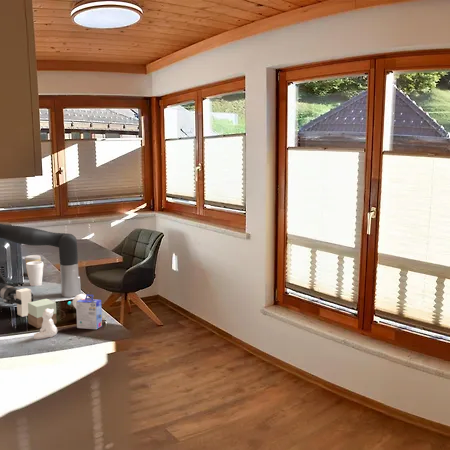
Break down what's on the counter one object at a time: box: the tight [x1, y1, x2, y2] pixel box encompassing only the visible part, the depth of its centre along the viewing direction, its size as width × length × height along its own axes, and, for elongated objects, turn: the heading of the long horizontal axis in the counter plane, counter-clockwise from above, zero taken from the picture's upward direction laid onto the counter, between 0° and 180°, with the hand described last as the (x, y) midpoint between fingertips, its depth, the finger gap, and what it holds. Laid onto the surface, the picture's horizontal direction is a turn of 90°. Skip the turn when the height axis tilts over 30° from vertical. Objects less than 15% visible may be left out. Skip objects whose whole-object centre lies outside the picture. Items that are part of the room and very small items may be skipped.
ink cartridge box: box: [75, 293, 103, 330], centre depth 223 cm, size 10×6×14 cm, turn 78°
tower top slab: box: [28, 298, 57, 318], centre depth 228 cm, size 9×9×5 cm
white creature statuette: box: [33, 308, 58, 340], centre depth 213 cm, size 10×9×12 cm
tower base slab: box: [27, 313, 58, 329], centre depth 229 cm, size 9×9×5 cm
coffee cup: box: [24, 254, 42, 276], centre depth 317 cm, size 9×9×12 cm
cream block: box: [16, 287, 32, 317], centre depth 241 cm, size 5×5×12 cm
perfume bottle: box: [67, 293, 89, 309], centre depth 249 cm, size 8×8×12 cm
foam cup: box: [25, 260, 45, 287], centre depth 294 cm, size 10×9×13 cm
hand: (26, 301), depth 239 cm, fingers closed on cream block, 5 cm apart
